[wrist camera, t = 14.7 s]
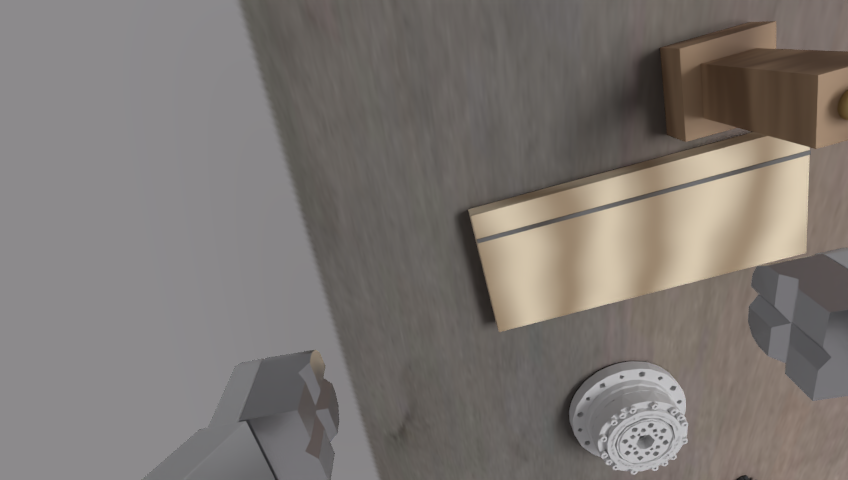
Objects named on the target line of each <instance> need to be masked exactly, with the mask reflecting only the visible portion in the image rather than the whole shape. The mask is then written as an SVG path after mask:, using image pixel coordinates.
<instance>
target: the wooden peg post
mask: <svg viewBox="0 0 848 480" xmlns="http://www.w3.org/2000/svg"><path fill="white" fill-rule="evenodd" d="M660 54H661V66H662V78H663V91H664V103H665V115H666V128H667V135H669V136H671V137H674V138H677V139H680V140H682V141H685V142H687V141H691V140H694V139H698V138H702V137H705V136H709V135H713V134H716V133H720V132H724V131H727V130H731V129H735V128H741V129H745V130H748V131H752V132H756V133H759V134H763V135H767V136H770V137H774V138H778V139H781V140H785V141H789V142H792V143H796V144H800V145H803V146H807V147H811V148H814V149H817V148H821V147H825V146H828V145H832V144H836V143H839V142H843V141H847V140H848V52H843V51H817V50H792V49H776V21H772V22H749V23H745V24H742V25H738V26H735V27H731V28H728V29H724V30H721V31H717V32H714V33H710V34H707V35H703V36H700V37H696V38H693V39H689V40H686V41H682V42H678V43H675V44H671V45H668V46H664V47H661V48H660Z"/></svg>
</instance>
